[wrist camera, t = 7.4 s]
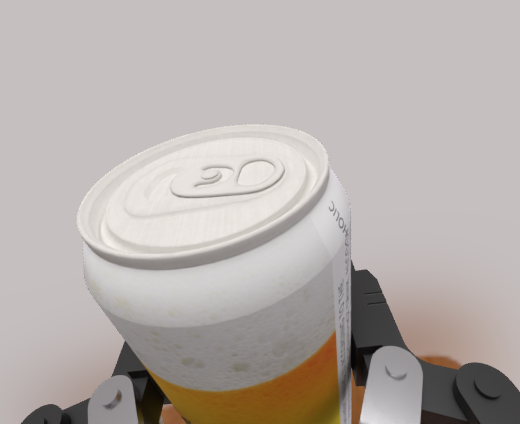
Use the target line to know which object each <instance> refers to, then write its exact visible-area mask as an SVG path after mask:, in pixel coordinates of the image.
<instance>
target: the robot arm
mask: <svg viewBox="0 0 520 424" xmlns="http://www.w3.org/2000/svg"><path fill="white" fill-rule="evenodd" d="M351 368H352V372H353V376H354V379H355V383H356V386H364V387H365V395H364V401H363V406H362V411H361V417H360V422H359V424H520V392H519V390H518V389H517V388H516V387H515V385H514V384H513V383H512V382H511V381H510V380H509V378H508V377H506V376H505V375H504V374H503V373H502V372H500V371H499V370H497V369H495V368H493V367H491V366H489V365H486V364H482V363H468V364H465V365H463V366H462V367H461V368H460V369H459V370H457V369H452V368H447V367H442V366H438V365H433V364H430V363H427V362H425V361H423V360H421V359H419V358H418V357H416V356H415V355H414V354H413V353H412V352H411V351H410V350H409V349H408V348H407V346H406V345H405V343H404V341H403V339H402V337H401V334H400V332H399V330H398V327H397V325H396V323H395V320H394V318H393V316H392V313H391V311H390V309H389V307H388V304H387V303H386V299H385V297H384V295H383V294H382V290H381V288H380V286H379V283H378V281H377V279H376V278H375V277H374V276H373V275H372V274H371V273H370V272H369V271H368V270H359V271H355V269H354V266H353V263H352V260H351ZM163 404H172V403H171V402H170V400H169V399H168V398H167V396H166V395H165V393H164V392H163V391H162V389H161V388H160V387H159V385H158V384H157V383H156V381H155V380H154V379H153V377H152V376H151V375H150V373H149V372H148V371H147V369H146V368H145V366H144V365H143V364H142V362H141V361H140V360H139V358H138V357H137V356H136V354H135V353H134V352H133V350H132V349H131V348H130V346H129V345H128V344H127V342H126V341H125V342H124V345H123V348H122V350H121V353H120V356H119V358H118V361H117V364H116V367H115V369H114V372H113V374H112V376H111V378H109V379H107V380H106V381H104V382H103V383H102V384H101V385H100V386H98V388H97V389H96V390H95V392H94V393H93V394H92V396H91V398H89V399H87V400H85V401H82V402H80V403H78V404H76V405H73V406H71V407H69V408H67V409H64V410H62V409H61V408H59V407H58V406H56V405H53V404H48V405H44V406H42V407H40V408H38V409H36V410H35V411H34V412H32V413H31V414H30V415H28V416H27V417H26V418H25V420H24V421H23V422H22V423H21V424H163V420H162V418H161V411H162V407H163Z"/></svg>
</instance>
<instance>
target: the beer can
mask: <svg viewBox="0 0 520 424" xmlns="http://www.w3.org/2000/svg"><path fill="white" fill-rule="evenodd" d="M77 227H78V230H79V232H80V235H81V237H82V238H83V260H84V261H83V263H84V277H85V281H86V284H87V287H88V290H89V291H90V293H91V294H92V296H93V297H94V299H95V300H96V302H97V303H98V304H99V306H100V307H101V308H102V310H103V311H104V312H105V314H106V315H107V316H108V318H109V319H110V321H111V322H112V323H113V325H114V326H115V327H116V329H117V330H118V331H119V333H120V334H121V335H122V337H123V338H124V339H125V341H126V342H127V344H128V345H129V346H130V348H131V349H132V350H133V352H134V353H135V354H136V356H137V357H138V358H139V360H140V361H141V362H142V364H143V365H144V366H145V368H146V369H147V371H148V372H149V373H150V375H151V376H152V377H153V379H154V380H155V381H156V383H157V384H158V385H159V387H160V388H161V389H162V391H163V392H164V393H165V395H166V396H167V398H168V399H169V400H170V402H171V403H172V404H173V406H174V407H175V408H176V410H177V411H178V412H179V414H180V415H181V416H182V418H183V419H184V420H185V422H186V423H187V424H351V211H350V202H349V200H348V196H347V194H346V192H345V190H344V188H343V186H342V185H341V183H340V182H339V180H338V179H337V177H336V175H335V174H334V172H333V171H332V169H331V167H330V166H329V159H328V155H327V152H326V150H325V149H324V147H323V145H322V144H321V143H320V142H319V141H318V140H316V139H315V138H314V137H312V136H310V135H308V134H307V133H304V132H302V131H299V130H296V129H293V128H288V127H283V126H276V125H264V124H249V125H234V126H226V127H219V128H213V129H208V130H204V131H199V132H195V133H191V134H188V135H185V136H181V137H178V138H175V139H172V140H169V141H166V142H164V143H161V144H159V145H156V146H154V147H152V148H149V149H147V150H145V151H143V152H141V153H139V154H137V155H135V156H134V157H131V158H130V159H128V160H126V161H125V162H123V163H122V164H120V165H118V166H117V167H115V168H114V169H112V170H111V171H110V172H109V173H107V174H106V175H105V176H104V177H102V178H101V179H100V180H99V181H98V182H97V183H96V184H95V185H94V186H93V187H92V188H91V189H90V190H89V192H88V193H87V194H86V196H85V197H84V199H83V200H82V202H81V204H80V207H79V210H78V213H77Z"/></svg>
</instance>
